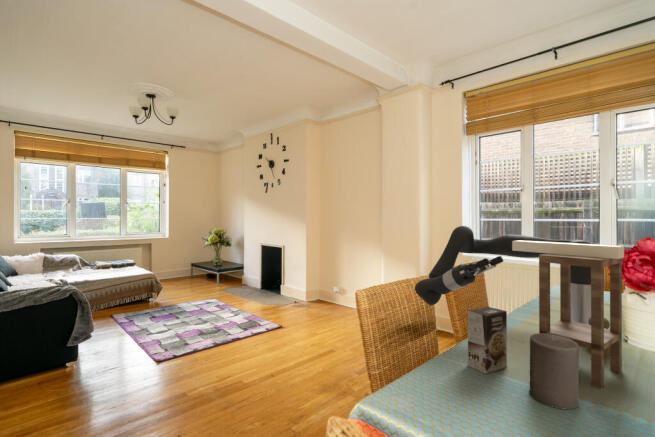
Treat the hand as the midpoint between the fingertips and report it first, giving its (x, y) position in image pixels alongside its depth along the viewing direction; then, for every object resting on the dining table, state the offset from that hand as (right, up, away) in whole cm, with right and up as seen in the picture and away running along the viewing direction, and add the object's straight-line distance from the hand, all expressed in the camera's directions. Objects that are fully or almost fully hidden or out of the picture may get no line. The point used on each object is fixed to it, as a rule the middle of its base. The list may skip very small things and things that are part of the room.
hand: (495, 259), depth 112 cm
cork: (+28, -28, -8) cm, 41 cm away
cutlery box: (+11, +4, -16) cm, 20 cm away
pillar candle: (-3, -29, -34) cm, 44 cm away
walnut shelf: (+14, -28, -19) cm, 37 cm away
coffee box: (-11, -29, -17) cm, 35 cm away
